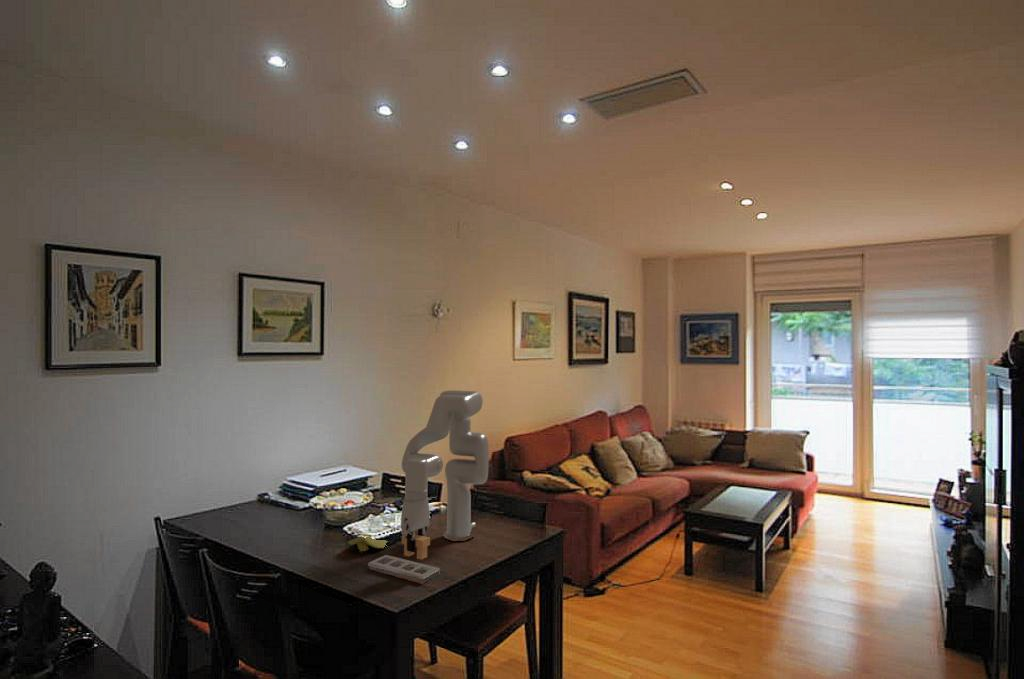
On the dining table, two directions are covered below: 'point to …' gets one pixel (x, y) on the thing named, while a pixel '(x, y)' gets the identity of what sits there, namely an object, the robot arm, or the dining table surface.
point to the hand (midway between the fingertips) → (415, 548)
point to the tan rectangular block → (421, 545)
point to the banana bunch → (368, 542)
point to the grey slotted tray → (403, 566)
